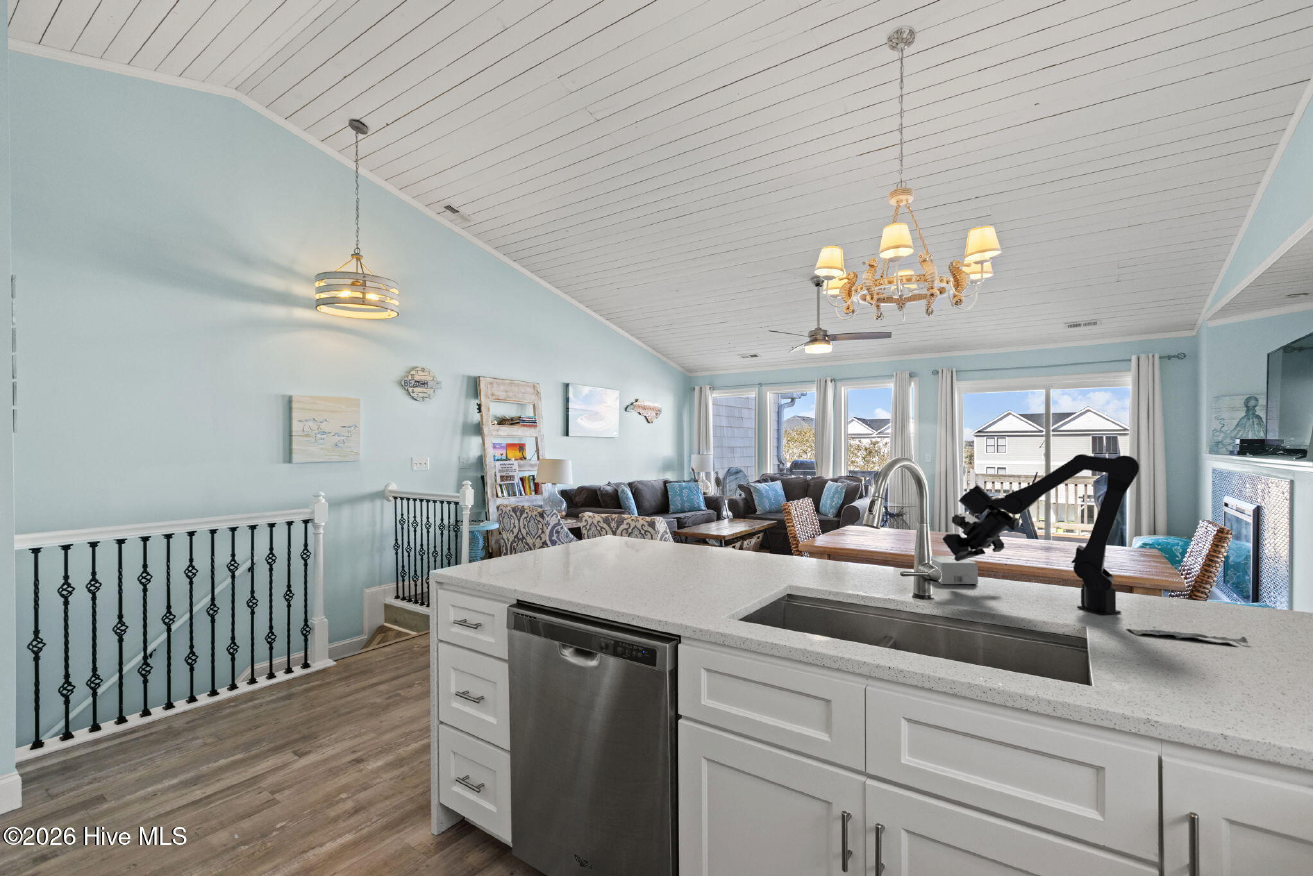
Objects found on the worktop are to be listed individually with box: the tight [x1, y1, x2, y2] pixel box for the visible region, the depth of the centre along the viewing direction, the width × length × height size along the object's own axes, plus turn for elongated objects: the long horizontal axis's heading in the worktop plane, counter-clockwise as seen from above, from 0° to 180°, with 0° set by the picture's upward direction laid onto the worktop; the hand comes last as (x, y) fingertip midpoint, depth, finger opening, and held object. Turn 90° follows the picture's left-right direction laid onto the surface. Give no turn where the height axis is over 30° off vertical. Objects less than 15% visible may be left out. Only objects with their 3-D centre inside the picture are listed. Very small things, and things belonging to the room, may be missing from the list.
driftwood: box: [1126, 626, 1252, 648], centre depth 128 cm, size 21×7×2 cm, turn 63°
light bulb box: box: [931, 555, 979, 585], centre depth 181 cm, size 11×7×11 cm
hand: (956, 559), depth 175 cm, fingers closed
